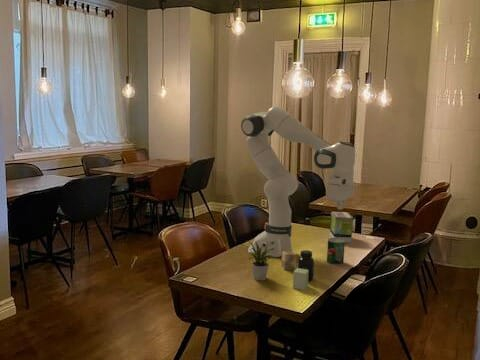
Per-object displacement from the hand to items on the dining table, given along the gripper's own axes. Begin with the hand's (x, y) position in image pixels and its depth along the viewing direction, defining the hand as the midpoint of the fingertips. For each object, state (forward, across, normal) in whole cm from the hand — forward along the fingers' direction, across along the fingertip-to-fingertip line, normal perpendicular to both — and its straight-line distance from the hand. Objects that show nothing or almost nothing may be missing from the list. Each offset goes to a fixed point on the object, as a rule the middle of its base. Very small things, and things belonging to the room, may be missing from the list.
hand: (340, 208), depth 215 cm
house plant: (+29, +35, -19) cm, 49 cm away
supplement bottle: (+28, +22, -3) cm, 36 cm away
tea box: (+28, -47, -21) cm, 59 cm away
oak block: (+28, +14, -16) cm, 36 cm away
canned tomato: (+28, -8, -4) cm, 30 cm away
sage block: (+28, +32, 0) cm, 42 cm away
